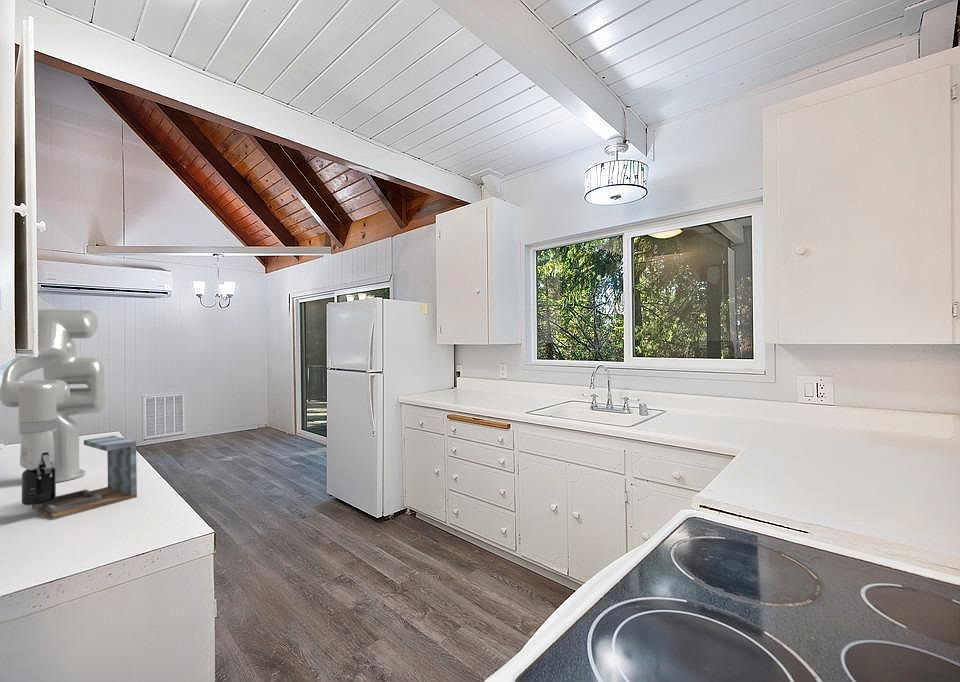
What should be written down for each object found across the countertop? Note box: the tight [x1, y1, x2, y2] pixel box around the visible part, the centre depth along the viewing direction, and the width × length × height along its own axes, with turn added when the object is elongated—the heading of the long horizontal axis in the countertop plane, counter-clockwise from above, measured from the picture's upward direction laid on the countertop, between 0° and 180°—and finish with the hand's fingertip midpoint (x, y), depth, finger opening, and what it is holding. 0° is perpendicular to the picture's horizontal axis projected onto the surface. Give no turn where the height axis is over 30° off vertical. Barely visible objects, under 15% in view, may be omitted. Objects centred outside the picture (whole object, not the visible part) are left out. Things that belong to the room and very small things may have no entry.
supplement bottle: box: [21, 465, 57, 506], centre depth 124 cm, size 7×7×12 cm
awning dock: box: [31, 435, 138, 520], centre depth 133 cm, size 16×20×18 cm
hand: (39, 489), depth 125 cm, fingers closed on supplement bottle, 6 cm apart
